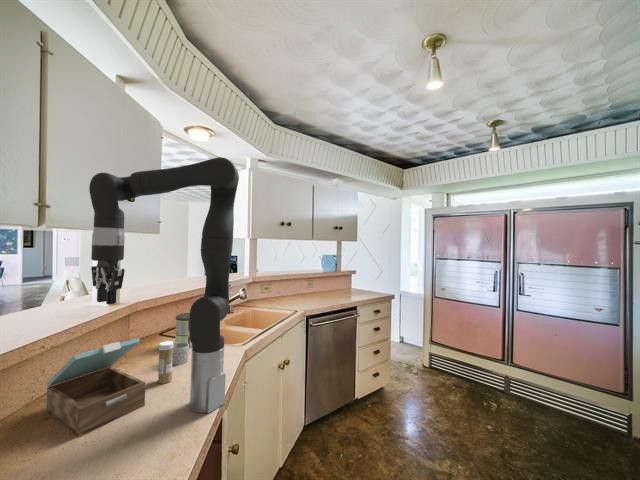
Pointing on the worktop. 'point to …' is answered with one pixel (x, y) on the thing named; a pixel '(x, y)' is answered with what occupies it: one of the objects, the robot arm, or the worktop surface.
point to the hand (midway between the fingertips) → (106, 302)
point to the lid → (92, 361)
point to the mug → (180, 353)
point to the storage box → (94, 399)
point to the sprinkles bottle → (165, 362)
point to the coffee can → (182, 329)
